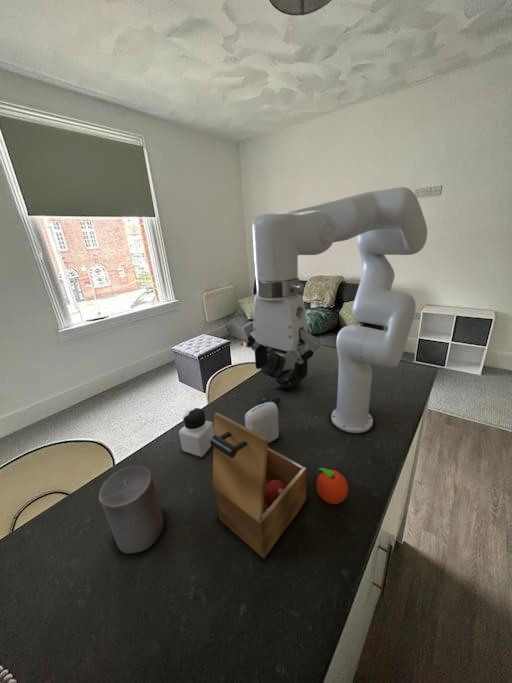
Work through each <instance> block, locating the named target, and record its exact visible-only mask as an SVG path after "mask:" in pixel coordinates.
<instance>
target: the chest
mask: <svg viewBox="0 0 512 683" xmlns="http://www.w3.org/2000/svg"><path fill="white" fill-rule="evenodd" d="M272 480H281V481H283V482H284V483H285V484H286V485H287V487H286V488H285V489H284V490H283V492H282V493H281V494H280V495H279V496H278V498H277V499H276V500H275V501H274V502H273V504H272V505H271V506H270V507H268V505H267V504H266V503H265V500H264V502H263V516H262V521H261V522H260V523H259V522H257V521H256V520H255V519H254V518H252V517H251V516H250V515H248V514H247V513H246V512H245V511H243V510H242V509H241V508H239V507H238V506H237V505H236V504H234V503H233V502H232V501H231V500H229V499H228V498H227V497H225V496H224V495H223V494H222V493H220V492H219V491H218V490H216V489H215V488H214V487H213V488H214V489H213V490H214V494H215V500H216V507H217V513H218V520H219V521H220V522H221V523H223V524H224V525H225V526H226V527H227V528H228V529H229V530H230V531H232V532H233V533H234V534H235V535H236V536H237V537H238V538H240V539H241V540H242V541H243V542H244V543H245V544H247V546H249V547H250V548H251V549H252V550H253V551H255V552H256V553H257V554H258V555H259V556H260V557H261V558H262V559H265V558H267V555H268V554H269V553H270V551H271V550H272V549H273V547H274V546H275V544H276V543H277V542H278V540H279V539H280V538H281V536H282V535H283V534H284V532H285V531H286V529H287V528H288V527H289V525H290V524H291V522H292V521H293V519H295V517H296V515H297V514H298V513H299V511H300V510H301V509H302V508H303V507H304V505H305V503H306V502H307V467H305V466H304V465H301V464H300V463H298V462H297V461H294V460H292V459H290V458H288V457H287V456H285V455H283V454H282V453H280V452H278V451H276V450H274V449H272V448H270V447H269V446H268V450H267V463H266V476H265V486H266V485H267V484H268V482H270V481H272Z"/></svg>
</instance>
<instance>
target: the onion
mask: <svg viewBox="0 0 512 683" xmlns="http://www.w3.org/2000/svg"><path fill="white" fill-rule="evenodd" d="M286 487H287V485H286V484H285V483H284V482H283V481H281V480H272V481H270V482H268V484H267V485H266V486H265V489H264V500H265V503H266V504H267V505H268V507H270V506H271V505H272V504H273V502H274V501H275V500H276V499H277V498H278V496H279V495H280V494H281V493H282V492H283V490H284V489H285V488H286Z"/></svg>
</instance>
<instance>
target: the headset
mask: <svg viewBox="0 0 512 683" xmlns="http://www.w3.org/2000/svg"><path fill="white" fill-rule="evenodd" d="M266 349H267V364H266V365H265V366H263V367H262V368H260V371H261V373H262V375H265V376H268V377H270V378H272V379H274V380H275V382H276V386H277V387H276V388H273V389H264V390H263V389H262V390H259V391H257V393H256V395H257V397H260V398H262V399H261V400H260V401H259V403H260V404H263V403H268V402H273V403H274V404H276V406H277V404H280V403H281V397H277V396H275V397H271V398H268V397H267V396H266V395H263V396H261V395H259V393H261V392H271V391H276V390H282V389H284V390H290V389H293V388H294V387H296V386H297V384H299V383H300V382H296V381H295V367H291V368H286V369H284V368H285V365H286V363H287V362H286V360H287V359H286V358H285V357H284V356H283V355H281V354H279V353H277V352H276V351H275V350H276V349H275V348H271V347H268V348H266ZM298 351H299V349H298ZM299 352H300V351H299ZM300 354H301V352H300ZM301 355H302V354H301ZM277 407H278V406H277Z"/></svg>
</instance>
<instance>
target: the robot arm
mask: <svg viewBox="0 0 512 683" xmlns="http://www.w3.org/2000/svg"><path fill="white" fill-rule="evenodd" d="M251 229H252V242H253V244H252V245H253V259H254V273H255V274H254V275H255V289H256V295H255V296H254V300H253V309H252V310H253V311H252V323H251V324H248V325H247V326H245V327H243V331H244V333H245V335H246V337H247V339H246V340H247V341H248V343H249V344H250V345H251V350H252V351H254V361H255V362H254V363H255V369H257V370H261V368H262V367H263V366H265V365H266V364H267V349H268V348H269V347H271V348H275V350H280V351H283V352H286V353H287V352H288V353H291V354H292V356H293V358H294V359H295V360H296V362H295V363H294V368H295V381H296V382H299V383H301V381H302V380H303V379H305V378H306V377H307V376H308V366H309V365H308V363H309V362H308V360H309V359H311V358H312V357H313V356H315V355H316V354H317V351H318V350H319V349H320V347H321V345H322V341H321V340H320V339H318V338H316V337H315V336H314V335H313V334H311V333H310V332H308V319H307V311H306V306H305V301H304V297H303V295H301V294H299V292H300V293H302V292H303V291H304V289H305V286H304V283H300V281H299V280H300V279H299V256H318V255H321V254H323V253H325V252H327V251H328V250H329V249H330V248H331V247H332V245H333V244H334V243H337V242H344V241H348V240H351V239H353V238H355V237H356V245H357V249H358V252H359V257H360V260H361V266H362V274H361V278H360V281H359V284H358V288H357V290H356V294H355V296H354V301H353V304H352V308H351V314H352V317H353V318H354V319H355V320H357V321H359V322H362V323H365V324H371V325H376V326H381V327H387V330H381V329H377V328H372V327H367V326H363V325H356V324H355V325H353V324H350V325H345V326H344V327H342V328H341V329H340V330H339V331H338V332H337V336H336V340H335V344H336V352H337V358H338V374H337V393H336V408H334V409H333V410H332V412H331V415H330V419H331V422H332V424H333V425H334V426H335V427H336V428H338V429H339V430H341V431H343V432H347V433H350V434H351V433H352V434H361V433H362V434H363V433H366V432H368V431H369V430H371V429H372V427H373V425H374V419H373V417H372V415H371V413H369V411H370V402H371V392H372V391H371V390H372V382H373V369H372V367H371V365H374V366H377V367H381V368H384V369H393V368H396V367H397V366H398V365H399V363H400V362H401V360H402V358H403V354H404V351H405V348H406V344H407V342H408V338H409V335H410V332H411V329H412V325H413V322H414V318H415V315H416V309H417V308H416V306H417V305H416V299H415V298H414V296H413V295H411V294H410V293H407V292H403V291H393V290H392V287H393V284H394V282H395V281H394V280H395V276H396V274H395V270H394V268H393V266H392V264H391V262H390V261H389V260H388V258H387V257H386V256H411V255H415V254H417V253H419V252H421V251H422V249H423V248H424V247H425V245H426V242H427V239H428V227H427V222H426V220H425V216H424V213H423V210H422V207H421V204H420V202H419V200H418V197H417V196H416V194H415V193H414V192H413V190H411V189H410V188H408V187H403V186H399V187H392V188H387V189H386V188H385V189H381V190H380V189H379V190H374V191H373V190H372V191H367V192H362V193H359V194H354V195H351V196H346V197H341V198H338V199H334V200H330V201H326V202H322V203H319V204H316V205H310V206H307V207H302V208H299V209H294V210H289V211H284V212H271V213H270V212H269V213H263V214H258V215H257V216H255V217H254V218H253V221H252V228H251ZM306 345H308V349H307V347H306ZM267 347H268V348H267ZM298 349H299V351H300V352H301V354H302V355H301V354H300V352H299V351H298Z"/></svg>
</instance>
